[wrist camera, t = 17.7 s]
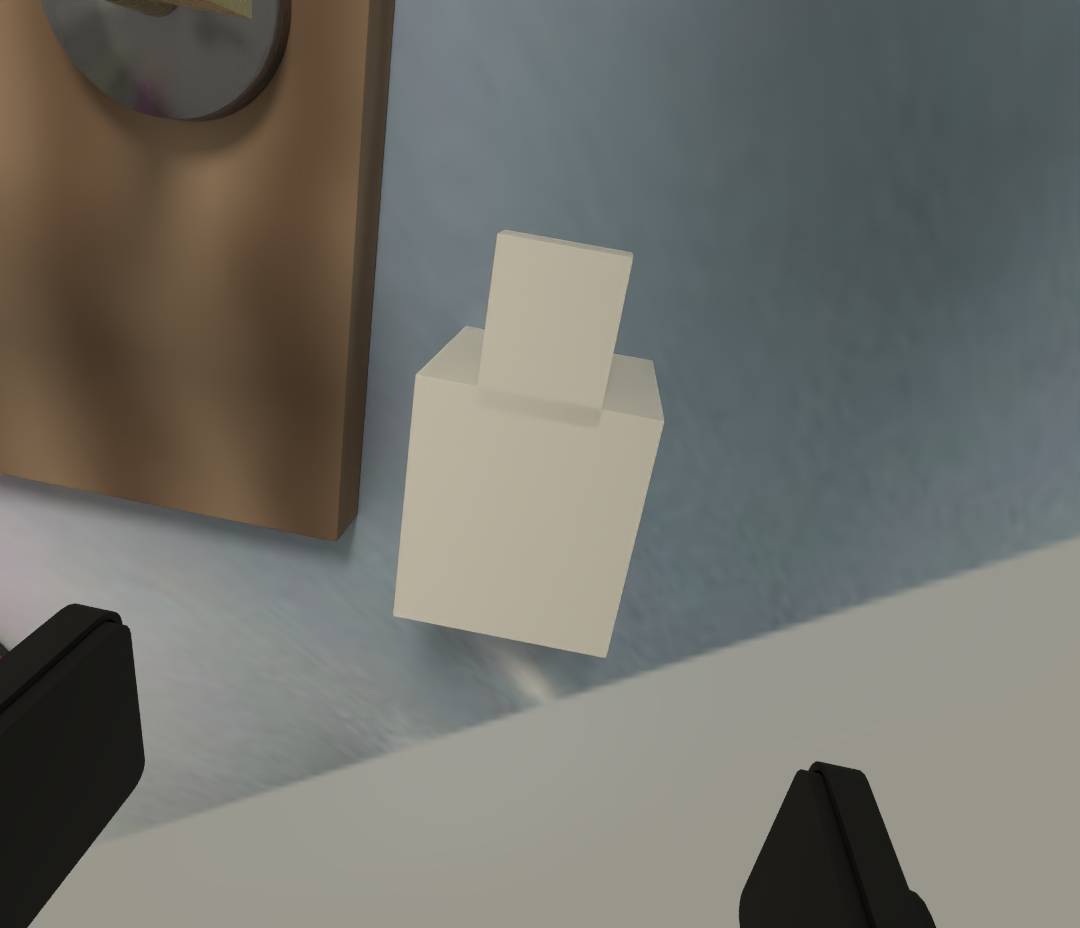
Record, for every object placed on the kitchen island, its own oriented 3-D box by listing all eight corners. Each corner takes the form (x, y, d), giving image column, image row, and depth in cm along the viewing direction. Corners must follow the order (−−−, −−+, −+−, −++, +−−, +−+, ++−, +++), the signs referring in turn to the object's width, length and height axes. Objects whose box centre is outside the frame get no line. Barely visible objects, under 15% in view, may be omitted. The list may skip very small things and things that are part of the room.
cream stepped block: (678, 245, 20) (702, 270, 15) (608, 550, 25) (605, 658, 19) (479, 209, 21) (429, 221, 15) (442, 518, 25) (392, 616, 19)
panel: (421, -362, 16) (395, -432, 14) (357, 514, 25) (336, 541, 23) (-198, -462, 16) (-301, -543, 15) (-42, 434, 25) (-93, 454, 24)
